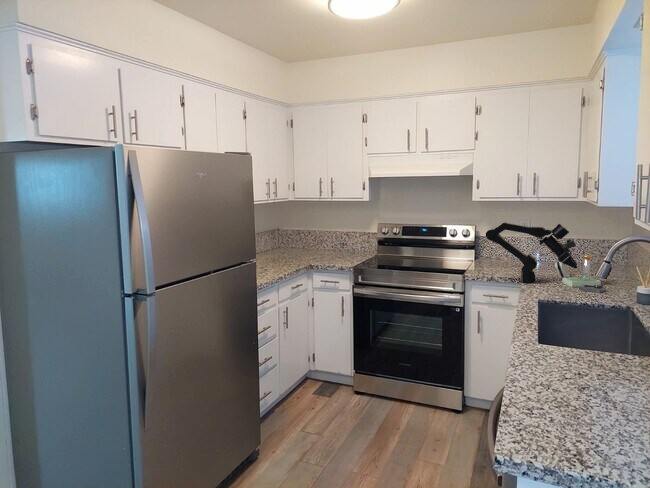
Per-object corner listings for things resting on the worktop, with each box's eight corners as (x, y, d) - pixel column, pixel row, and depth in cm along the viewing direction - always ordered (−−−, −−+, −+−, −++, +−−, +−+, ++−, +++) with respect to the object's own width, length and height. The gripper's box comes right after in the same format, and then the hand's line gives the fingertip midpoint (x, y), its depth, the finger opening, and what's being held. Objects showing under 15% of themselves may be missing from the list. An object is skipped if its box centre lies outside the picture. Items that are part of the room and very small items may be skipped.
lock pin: (586, 284, 239) (587, 256, 238) (579, 283, 243) (581, 255, 242) (592, 284, 240) (593, 256, 239) (585, 283, 244) (586, 255, 243)
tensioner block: (579, 290, 230) (579, 284, 230) (585, 288, 234) (585, 282, 234) (599, 292, 222) (599, 286, 222) (605, 290, 227) (605, 284, 226)
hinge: (569, 278, 261) (562, 262, 262) (560, 281, 263) (554, 264, 264) (569, 274, 276) (563, 258, 276) (561, 276, 278) (555, 260, 279)
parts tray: (572, 287, 238) (572, 281, 237) (562, 283, 250) (562, 277, 249) (600, 286, 236) (600, 281, 236) (589, 282, 248) (589, 277, 248)
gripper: (566, 236, 236) (590, 258, 231) (566, 233, 252) (589, 254, 248) (548, 251, 240) (571, 273, 236) (550, 247, 256) (572, 267, 252)
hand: (576, 266), depth 243 cm, fingers open, 9 cm apart
